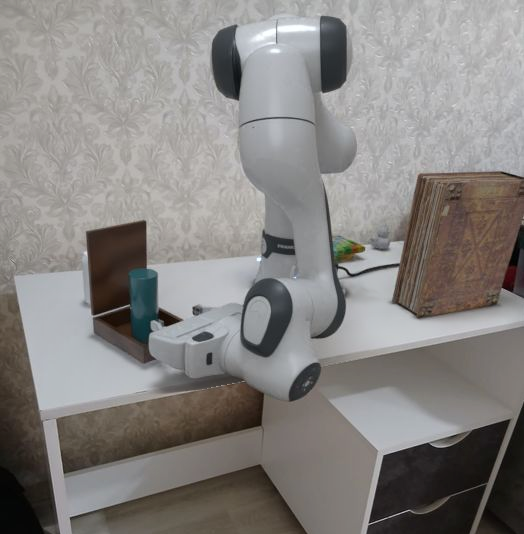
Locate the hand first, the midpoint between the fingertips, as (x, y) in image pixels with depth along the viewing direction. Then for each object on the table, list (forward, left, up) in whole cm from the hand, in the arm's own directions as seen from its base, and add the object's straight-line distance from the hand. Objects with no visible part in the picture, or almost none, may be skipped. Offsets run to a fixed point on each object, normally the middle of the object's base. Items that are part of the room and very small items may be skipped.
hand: (175, 316), depth 98 cm
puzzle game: (-52, -48, -9) cm, 71 cm away
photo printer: (+9, -28, -9) cm, 30 cm away
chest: (+4, -8, -9) cm, 12 cm away
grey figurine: (-73, -53, -9) cm, 90 cm away
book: (-68, -12, -9) cm, 70 cm away
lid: (+8, -14, +4) cm, 16 cm away
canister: (+4, -8, -8) cm, 12 cm away
